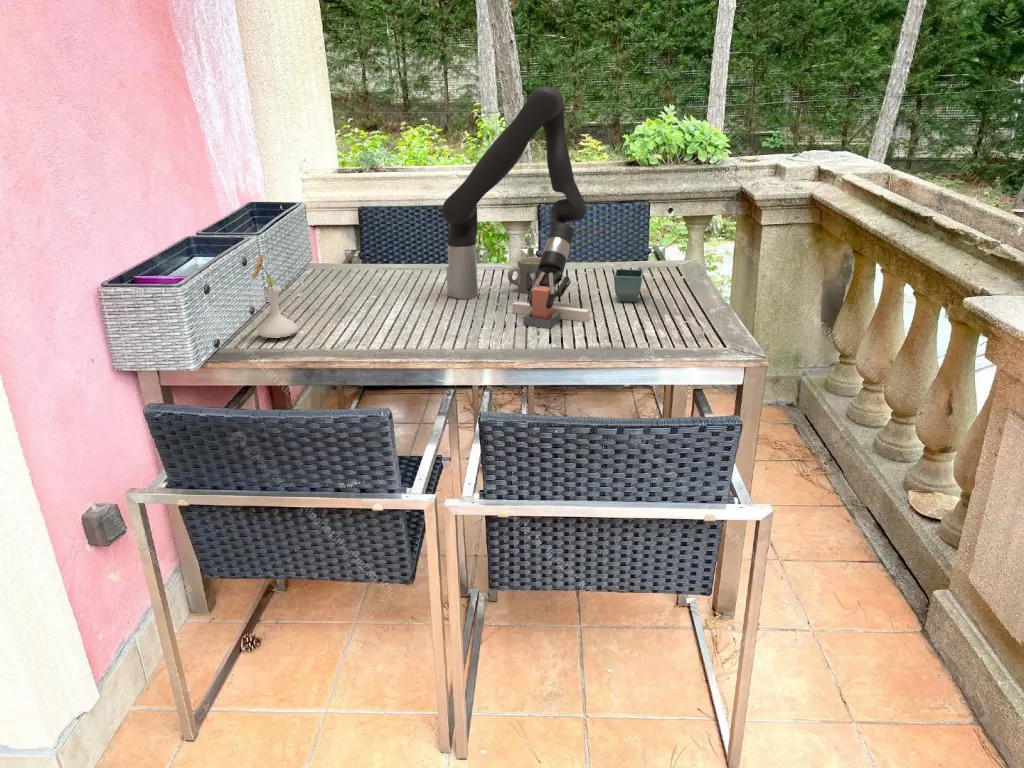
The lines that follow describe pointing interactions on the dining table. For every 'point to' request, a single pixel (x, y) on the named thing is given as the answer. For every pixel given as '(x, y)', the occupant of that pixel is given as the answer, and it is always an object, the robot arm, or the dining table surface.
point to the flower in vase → (273, 309)
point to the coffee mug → (524, 272)
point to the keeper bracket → (541, 320)
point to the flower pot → (627, 284)
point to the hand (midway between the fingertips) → (539, 306)
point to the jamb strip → (555, 310)
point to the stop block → (540, 302)
